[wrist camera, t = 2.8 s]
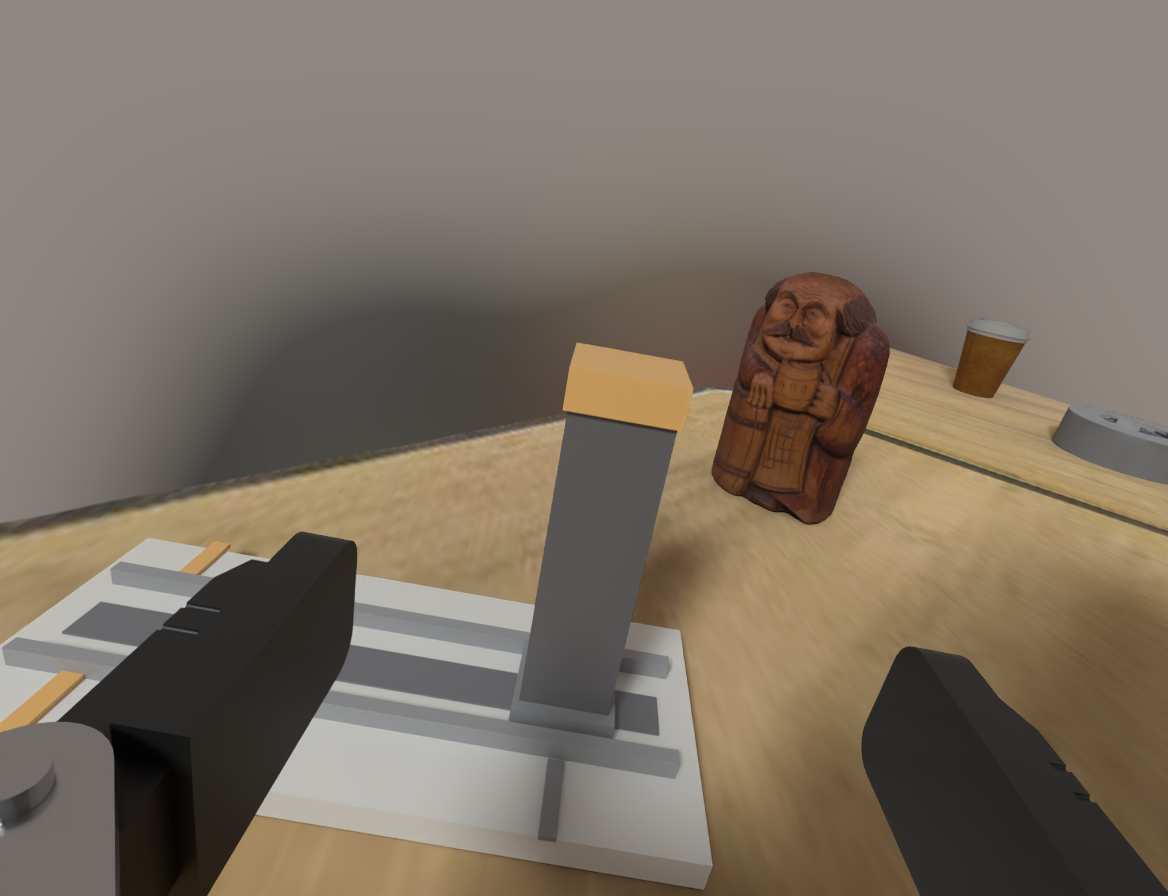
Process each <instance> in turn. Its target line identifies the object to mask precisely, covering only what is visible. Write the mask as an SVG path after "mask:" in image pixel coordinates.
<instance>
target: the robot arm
mask: <svg viewBox="0 0 1168 896" xmlns="http://www.w3.org/2000/svg"><path fill="white" fill-rule="evenodd" d="M356 569H357V547H356V544H355V542H354V541H350V540H344V539H339V538H334V537H328V536H323V535H317V534H312V533H307V532H299V533H297V534H295V535H294V536H293V537H292V538H291V539H290V540H289V541H288V542H287V543H286V544H285V545H284V546H283V547H282V548H281V549H280V550H279V551H278V552H277V553H276V554H275V555H274V556H273V557H272V558H271V559H270V560H269V561H268V562H264V561H259V560H253V559H251V560H249V561H247V562H245V563H243V564H241V565H239V566H237V567H234V568H232V569H230V570H228V571H226V572H224V573H222V574H220V575H218V576H216V577H214V578H213V579H212V580H210V581H209V582H208V583H207V584H206V585H205V586H204V587H203V588H202V589H201V590H200V591H198V592H197V593H196V594H195V595H194V596H193V597H192V598H191V599H190V600H189V601H188V602H187V604H186V607H185V608H182V607H181V608H180V609H179V610H178V611H177V612H176V613H174V614H173V615H172V616H171V617H170V618H169V619H168V620H167V621H166V622H165V623H164V624H163V627H162V629H161V630H156V631H155V632H154V633H153V634H152V635H150V636H149V637H148V638H147V639H146V640H145V641H144V642H143V643H142V644H141V645H140V646H138V647H137V648H136V649H135V650H134V651H133V652H132V653H131V654H130V655H129V656H128V657H126V658H125V659H124V660H123V661H122V662H121V663H120V664H119V665H118V666H117V667H115V668H114V669H113V670H112V671H111V672H110V673H109V674H108V675H107V676H106V677H105V678H103V679H102V680H101V681H100V682H99V683H98V684H97V685H96V686H95V687H94V688H93V689H91V690H90V691H89V692H88V693H87V694H86V695H85V696H84V697H83V698H82V699H81V700H79V701H78V702H77V703H76V704H75V705H74V706H73V707H72V708H71V709H70V710H69V711H67V712H66V713H65V714H64V715H63V716H62V717H61V718H60V719H59V720H57V721H56V722H46V723H36V724H31V725H26V726H21V727H17V728H14V729H10V730H7V731H3V732H0V896H207V895H208V893H209V892H210V890H211V888H212V887H213V885H214V883H215V881H216V880H217V878H218V876H219V875H220V873H221V871H222V870H223V868H224V866H225V865H226V863H227V861H228V860H229V858H230V856H231V855H232V853H233V851H234V850H235V848H236V846H237V845H238V843H239V841H240V840H241V838H242V836H243V835H244V833H245V831H246V829H247V828H248V826H249V824H250V823H251V821H252V819H253V818H254V816H255V814H256V813H257V811H258V809H259V808H260V806H261V804H262V803H263V801H264V799H265V798H266V796H267V794H268V793H269V791H270V789H271V788H272V786H273V784H274V783H275V781H276V779H277V778H278V776H279V774H280V772H281V771H282V769H283V767H284V766H285V764H286V762H287V761H288V759H289V757H290V756H291V754H292V752H293V751H294V749H295V747H296V746H297V744H298V742H299V741H300V739H301V737H302V736H303V734H304V732H305V731H306V729H307V727H308V726H309V724H310V722H311V721H312V719H313V717H314V715H315V714H316V712H317V710H318V709H319V707H320V705H321V704H322V702H323V700H324V699H325V697H326V695H327V694H328V692H329V690H330V689H331V687H332V685H333V684H334V682H335V680H336V679H337V677H338V675H339V673H340V671H341V669H342V667H343V665H344V662H345V660H346V657H347V654H348V651H349V647H350V643H351V638H352V632H353V619H354V602H355V586H356ZM862 759H863V764H864V768H865V771H866V773H867V776H868V778H869V780H870V783H871V785H872V787H873V789H874V792H875V794H876V796H877V799H878V801H879V803H880V805H881V808H882V810H883V812H884V814H885V817H886V819H887V821H888V823H889V826H890V828H891V830H892V833H893V835H894V837H895V839H896V842H897V844H898V846H899V848H900V851H901V853H902V855H903V857H904V860H905V862H906V864H907V867H908V869H909V871H910V873H911V876H912V878H913V880H914V882H915V885H916V887H917V889H918V891H919V894H920V896H1168V891H1167V890H1166V889H1165V888H1164V886H1163V885H1162V884H1161V883H1160V881H1159V880H1158V879H1157V878H1156V876H1155V875H1154V874H1153V873H1152V872H1151V870H1150V869H1149V868H1148V867H1147V865H1146V864H1145V863H1144V862H1143V860H1142V859H1141V858H1140V857H1139V855H1138V854H1137V853H1136V852H1135V850H1134V849H1133V848H1132V847H1131V845H1130V844H1129V843H1128V842H1127V840H1126V839H1125V838H1124V837H1123V836H1122V834H1121V833H1120V832H1119V831H1118V829H1117V828H1116V827H1115V826H1114V824H1113V823H1112V822H1111V821H1110V819H1109V818H1108V817H1107V816H1106V814H1105V813H1104V812H1103V811H1102V809H1101V808H1100V807H1099V806H1098V804H1097V803H1094V802H1091V801H1090V799H1089V796H1090V795H1089V793H1088V792H1087V791H1086V790H1085V788H1084V787H1083V786H1082V785H1081V783H1080V782H1079V781H1078V780H1077V778H1076V777H1075V776H1074V775H1073V773H1072V772H1067V771H1066V768H1065V767H1066V765H1065V764H1064V762H1063V761H1062V760H1061V759H1060V757H1059V756H1058V755H1057V754H1056V752H1055V751H1054V750H1053V749H1052V747H1051V746H1050V745H1049V744H1048V742H1047V741H1046V740H1045V739H1044V737H1043V736H1042V735H1041V734H1040V732H1039V731H1038V730H1037V729H1035V728H1034V727H1033V726H1032V725H1031V724H1029V723H1028V722H1027V721H1026V720H1025V719H1023V718H1022V717H1021V716H1020V715H1019V714H1017V713H1016V712H1015V711H1014V710H1013V709H1012V708H1010V707H1009V706H1008V705H1007V704H1006V703H1004V702H1003V701H1002V700H1001V699H1000V698H999V697H998V696H997V695H996V693H995V692H994V691H993V690H992V688H991V687H990V686H989V684H988V683H987V682H986V681H985V679H984V678H983V677H982V675H981V674H980V673H979V672H978V670H977V669H976V668H975V666H974V665H973V664H972V663H971V662H970V661H969V660H968V659H967V658H965V657H963V656H960V655H954V654H949V653H944V652H938V651H933V650H928V649H922V648H917V647H911V646H909V647H905V648H903V649H902V650H901V651H900V652H899V653H898V654H897V656H896V658H895V660H894V662H893V664H892V666H891V669H890V671H889V673H888V675H887V677H886V680H885V682H884V684H883V686H882V688H881V691H880V693H879V695H878V697H877V699H876V702H875V704H874V706H873V708H872V710H871V713H870V715H869V717H868V719H867V721H866V724H865V726H864V730H863V735H862Z"/></svg>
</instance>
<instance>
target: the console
mask: <svg viewBox="0 0 1168 896" xmlns="http://www.w3.org/2000/svg"><path fill="white" fill-rule="evenodd" d="M229 548H230V544H228V543H222V542H216V541H214V542H213V543H212V544H211V545H209V546H208V547H207V548H203V547H197V546H192V545H186V544H180V543H174V542H169V541H163V540H157V539H151V538H147V539H146V540H145V541H143V542H142V543H141V544H139V545H138V546H136V547H135V548H134V549H132V550H131V551H129V552H128V553H127V554H125V555H124V556H123V557H121V558H120V559H118V560H117V561H116V562H114V563H113V564H111V565H110V566H109V567H107V568H106V569H105V570H103V571H102V572H100V573H99V574H98V575H96V576H95V577H93V578H92V579H91V580H89V581H88V582H87V583H85V584H84V585H82V586H81V587H80V588H78V589H77V590H75V591H74V592H73V593H71V594H70V595H69V596H67V597H66V598H64V599H63V600H62V601H60V602H59V603H57V604H56V605H55V606H53V607H52V608H51V609H49V610H48V611H46V612H45V613H44V614H42V615H41V616H39V617H38V618H37V619H35V620H34V621H33V622H31V623H30V624H28V625H27V626H26V627H24V628H23V629H21V630H20V631H19V632H17V633H16V634H15V635H13V636H12V637H10V638H9V639H8V640H6V641H5V642H3V643H2V644H1V645H0V732H3V731H7V730H10V729H14V728H17V727H21V726H26V725H31V724H36V723H46V722H56V721H57V720H59V719H60V718H61V717H62V716H63V715H64V714H65V713H66V712H67V711H69V710H70V709H71V708H72V707H73V706H74V705H75V704H76V703H77V702H78V701H79V700H81V699H82V698H83V697H84V696H85V695H86V694H87V693H88V692H89V691H90V690H91V689H93V688H94V687H95V686H96V685H97V684H98V683H99V682H100V681H101V680H102V679H103V678H105V677H106V676H107V675H108V674H109V673H110V672H111V671H112V670H113V669H114V668H115V667H117V666H118V665H119V664H120V663H121V662H122V661H123V660H124V659H125V658H126V657H128V656H129V655H130V654H131V653H132V652H133V651H134V650H135V649H136V648H137V647H138V646H140V645H141V644H142V643H143V642H144V641H145V640H146V639H147V638H148V637H149V636H150V635H152V634H153V633H154V632H155V631H156V630H161V629H162V627H163V624H164V623H165V622H166V621H167V620H168V619H169V618H170V617H171V616H172V615H173V614H174V613H176V612H177V611H178V610H179V609H180V608H181V607H182V608H185V607H186V604H187V602H188V601H189V600H190V599H191V598H192V597H193V596H194V595H195V594H196V593H197V592H198V591H200V590H201V589H202V588H203V587H204V586H205V585H206V584H207V583H208V582H209V581H210V580H212V579H213V578H214V577H216V576H218V575H220V574H222V573H224V572H226V571H228V570H230V569H232V568H234V567H237V566H239V565H241V564H243V563H245V562H247V561H249V560H251V559H253V560H259V561H264V562H268V561H269V560H270V559H266V558H261V557H255V556H249V555H243V554H238V553H232V552H226V551H227V550H228V549H229ZM534 608H535V605H531V604H525V603H520V602H514V601H508V600H502V599H497V598H491V597H485V596H479V595H474V594H468V593H462V592H456V591H451V590H445V589H439V588H433V587H428V586H422V585H416V584H410V583H405V582H399V581H393V580H387V579H382V578H376V577H370V576H364V575H359V574H356V586H355V602H354V619H353V632H352V638H351V643H350V647H349V651H348V654H347V657H346V660H345V662H344V665H343V667H342V669H341V671H340V673H339V675H338V677H337V679H336V680H335V682H334V684H333V685H332V687H331V689H330V690H329V692H328V694H327V695H326V697H325V699H324V700H323V702H322V704H321V705H320V707H319V709H318V710H317V712H316V714H315V715H314V717H313V719H312V721H311V722H310V724H309V726H308V727H307V729H306V731H305V732H304V734H303V736H302V737H301V739H300V741H299V742H298V744H297V746H296V747H295V749H294V751H293V752H292V754H291V756H290V757H289V759H288V761H287V762H286V764H285V766H284V767H283V769H282V771H281V772H280V774H279V776H278V778H277V779H276V781H275V783H274V784H273V786H272V788H271V789H270V791H269V793H268V794H267V796H266V798H265V799H264V801H263V803H262V804H261V806H260V808H259V809H258V811H257V813H256V815H262V816H267V817H273V818H279V819H285V820H291V821H297V822H303V823H309V824H315V825H321V826H327V827H333V828H339V829H345V830H351V831H357V832H363V833H369V834H374V835H380V836H386V837H392V838H398V839H404V840H410V841H416V842H422V843H428V844H434V845H440V846H446V847H452V848H458V849H464V850H470V851H476V852H481V853H487V854H493V855H499V856H505V857H511V858H517V859H523V860H529V861H535V862H541V863H547V864H553V865H559V866H565V867H571V868H577V869H583V870H588V871H594V872H600V873H606V874H612V875H618V876H624V877H630V878H636V879H642V880H648V881H654V882H660V883H666V884H672V885H678V886H684V887H690V888H695V889H701V890H704V889H705V886H706V883H707V880H708V878H709V875H710V872H711V870H712V867H713V864H712V857H711V850H710V842H709V835H708V828H707V821H706V814H705V806H704V799H703V792H702V785H701V778H700V770H699V763H698V756H697V749H696V742H695V734H694V727H693V720H692V713H691V706H690V698H689V691H688V684H687V677H686V670H685V662H684V655H683V648H682V641H681V634H680V630H675V629H669V628H663V627H658V626H652V625H646V624H640V623H635V622H631V624H630V628H629V632H628V636H627V640H626V645H625V649H624V653H623V657H622V661H621V665H620V669H619V674H618V678H617V682H616V686H615V727H614V731H613V735H612V739H609V738H604V737H598V736H592V735H586V734H580V733H574V732H568V731H563V730H557V729H551V728H545V727H539V726H533V725H528V724H522V723H516V722H510V721H509V715H510V709H511V704H512V699H513V695H514V690H515V685H516V681H517V676H518V671H519V667H520V662H521V657H522V653H523V648H524V643H525V640H529V637H530V632H531V626H532V620H533V614H534Z"/></svg>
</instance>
